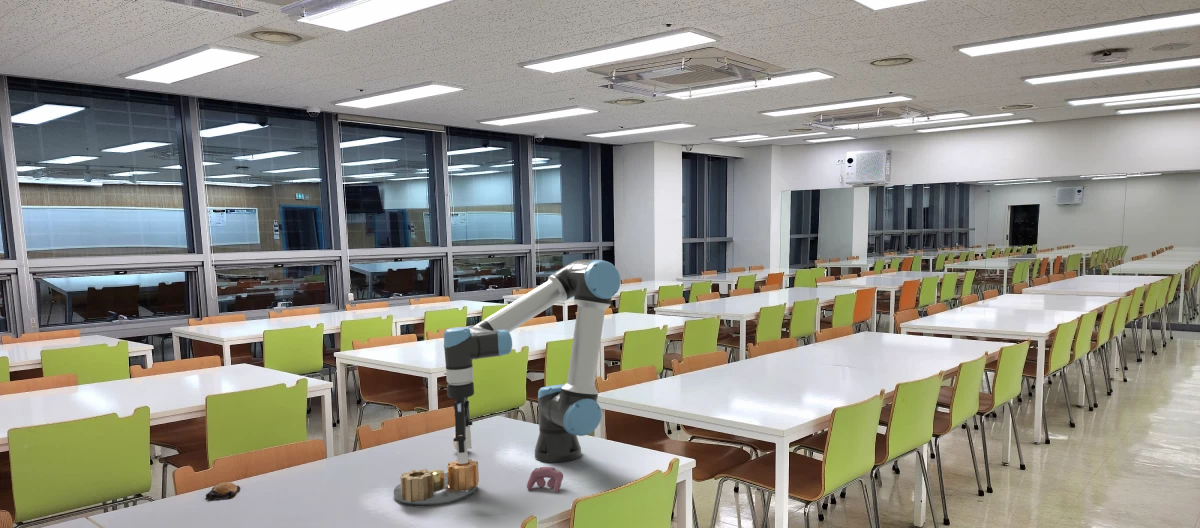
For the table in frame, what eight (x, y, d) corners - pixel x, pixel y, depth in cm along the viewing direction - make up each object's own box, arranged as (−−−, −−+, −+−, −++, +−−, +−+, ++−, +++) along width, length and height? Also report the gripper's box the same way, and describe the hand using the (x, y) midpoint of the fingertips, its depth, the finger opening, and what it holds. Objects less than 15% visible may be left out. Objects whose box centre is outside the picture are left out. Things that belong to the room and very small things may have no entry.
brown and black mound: (211, 492, 214) (210, 479, 214) (242, 488, 217) (242, 476, 217) (202, 504, 204) (202, 491, 204) (235, 500, 207) (235, 487, 206)
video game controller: (562, 494, 206) (566, 469, 209) (557, 492, 203) (560, 466, 205) (530, 491, 210) (534, 466, 212) (524, 489, 206) (528, 463, 208)
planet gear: (479, 478, 213) (478, 458, 212) (477, 488, 204) (476, 467, 204) (450, 480, 212) (449, 460, 212) (446, 490, 203) (446, 469, 203)
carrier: (479, 475, 220) (478, 451, 219) (473, 503, 197) (472, 476, 197) (401, 480, 217) (400, 455, 217) (386, 509, 195) (385, 481, 194)
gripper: (451, 374, 219) (455, 443, 220) (441, 393, 194) (446, 471, 195) (476, 372, 220) (480, 441, 221) (470, 390, 195) (475, 468, 196)
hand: (464, 455), depth 208 cm, fingers open, 13 cm apart
